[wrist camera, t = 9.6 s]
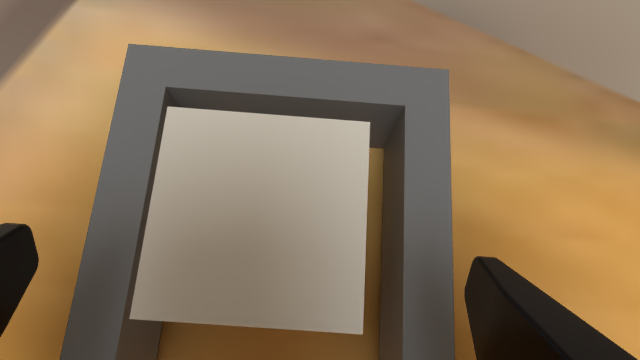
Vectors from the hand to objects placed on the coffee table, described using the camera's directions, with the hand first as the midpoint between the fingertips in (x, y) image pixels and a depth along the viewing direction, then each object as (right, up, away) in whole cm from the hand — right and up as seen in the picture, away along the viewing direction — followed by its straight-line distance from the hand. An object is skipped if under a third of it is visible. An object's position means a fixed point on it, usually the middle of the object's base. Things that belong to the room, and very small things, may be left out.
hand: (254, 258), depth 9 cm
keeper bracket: (0, 0, +9) cm, 9 cm away
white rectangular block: (0, -2, +8) cm, 8 cm away
